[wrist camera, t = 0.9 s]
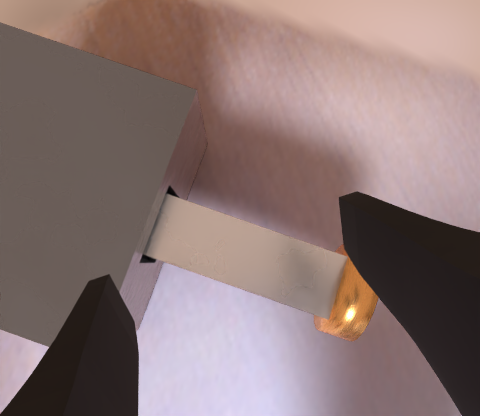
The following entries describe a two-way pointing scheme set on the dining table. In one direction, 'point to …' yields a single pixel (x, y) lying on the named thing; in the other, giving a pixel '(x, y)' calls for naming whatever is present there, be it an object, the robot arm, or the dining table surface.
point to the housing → (84, 177)
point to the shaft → (264, 264)
